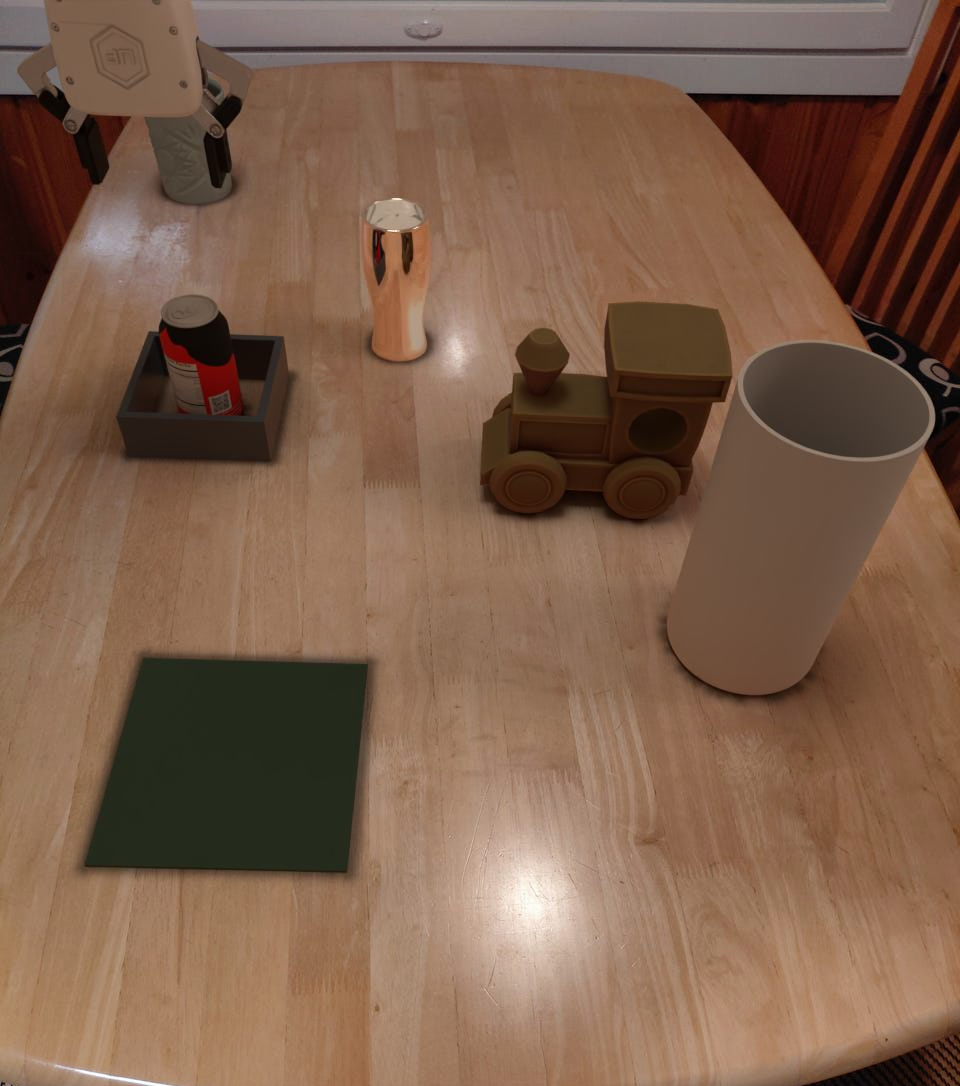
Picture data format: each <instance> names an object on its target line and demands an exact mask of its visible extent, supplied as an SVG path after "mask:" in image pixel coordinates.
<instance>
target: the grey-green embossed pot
mask: <svg viewBox="0 0 960 1086" xmlns="http://www.w3.org/2000/svg"><path fill="white" fill-rule="evenodd" d="M207 90H208V91H209V92H210V93H211V94H212V95H213V96H214V97H215V98H216V99H217V100H218V101H219V102H220V103H221V102H222V101H223V100H224V99H225V89H224V87H223V85H222V84H221V82H218V81H217V80H215V79H213V78H210V77H208V87H207ZM143 119H144V122H145V124H146V127H147V128H148V136H149V139H150V143H151V146H152V148H153V154H154V157H155V159H156V164H157V168H158V171H159V173H160V178H161V183H162V186H163V189H164V192H165V194H166V195H167V197H168V198H170V199H171V200H173V201H175V202H177V203H180V204H186V205H206V204H211V203H215V202H217V201H221V200H222V199H224V198H226V197H227V196H228V195H229V194H230V193H231V191H232V188H233V180H232V172H231V173H227V174H226V177H225V180H224V182H223V185H222V188H214V186H212V185H211V180H210V174H209V169H208V164H207V159H206V153H205V148H204V143H203V139H204V136H205V134H206V130H205V129H204V128H203V127H202V126H201V125H200V124H199V123H198V122H197V121H196V120H195V119H194V118H193V117H192V116H191V115H189V116H185V117H143ZM226 131H227V129H226Z"/></svg>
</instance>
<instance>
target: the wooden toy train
mask: <svg viewBox="0 0 960 1086" xmlns="http://www.w3.org/2000/svg"><path fill="white" fill-rule="evenodd" d="M603 331H604V333H603V347H604V348H603V350H604V351H603V352H604V360H605V362H604V363H605V372H606V376H604V375H603V376H602V375H595V374H594V375H593V374H587V373H570V372H569V373H568V372H563V371H564V369H565V368H566V367H567V365H568V364H569V361H570V356H571V353H570V352H569V351H568V349H567V347H566V345H565V344H564V343H563V341H562V340H561V337H559V335H558V333H557V332H556V331H555V330H553V329H551V328H548V327H538V328H534V329H533V330H532V331H530V332H529V333H528V334H527V335H526V336H525V337H524V338H523V339H522V341H521V342H520V343H519V344H518V345H517V346H516V349H515V352H514V356H515V359H516V362H517V363H518V366H519V368H520V370H521V372H512V373H513V375H512V385H511V392H510V393H508V394H507V395H505V396H504V397H503V398H501V399H500V401H498V403H497V404H496V406H495V407H494V409H493V412H492V416H491V417H490V418H489V419H487V420H486V421H484V422H483V423H482V432H481V433H482V434H481V453H480V455H481V456H480V458H481V459H480V479H479V485H480V486H485V487H490V488H489V489H490V492H491V493H492V495H493V496H494V498H495V500H496V501H497V502H498V503H499V504H500V505H501V506H503V507H504V508H505V509H508V510H510V511H512V512H516V513H521V514H536V513H540V512H544V511H546V510H548V509H551V508H552V507H553V506H555V505H557V503H558V502H559V501H560V500H561V499H562V497H563V496H564V494H565V492H566V491H584V492H602V495H603V498H604V501H605V502H606V505H608V507H609V508H610V509H611V510H612V511H614V512H615V513H616V514H618V515H620V516H622V517H624V518H628V519H634V520H641V519H642V520H644V519H650V518H653V517H656V516H659V515H661V514H662V513H665V512H666V511H668V510H669V509H670V508H671V507H672V506H673V504H675V502H676V501H677V498H678V497H679V496H681V497H683V496H684V497H686V496H687V494H688V491H689V487H690V484H691V480H692V477H693V473H694V465H693V458H694V456H695V454H696V452H697V451H698V449H699V446H700V444H701V441H702V438H703V435H704V433H705V430H706V426H707V424H708V422H709V421H708V420H709V417H710V414H711V411H712V408H713V404H714V403H715V404H717V403H726V400H727V396H728V393H729V390H730V386H731V383H732V379H733V377H734V376H733V363H732V362H733V361H732V352H731V347H730V342H729V338H728V334H727V329H726V325H725V323H724V321H723V318H722V315H721V313H720V310H719V309H718V308H714V307H707V306H703V305H695V304H689V303H677V302H676V303H675V302H655V301H638V300H637V301H626V302H609V303H608V304H607V311H606V318H605V324H604V330H603Z"/></svg>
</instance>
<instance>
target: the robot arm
mask: <svg viewBox="0 0 960 1086" xmlns="http://www.w3.org/2000/svg"><path fill="white" fill-rule="evenodd" d="M43 4H44V5H43V6H44V10H45V16H46V22H47V27H48V32H49V37H50V42H49V43H47V44H46V45H44V46H43V47H41V48H39V49H38V50H36V51H35V52H33V53H32V54H30V55H29V56H27V57H26V58H24V59H23V60H22V61H21V62H20V64H19V65H18V67H17V70H16V71H17V74H18V76H19V77H20V78H21V79H22V82H24V83H25V85H26V86H27V87H28V89H29V90H30V91H31V93H33V95H35V96H36V97H37V98H38V103H39V104H40V106H41V107H42V108H44V109H45V111H47V112H48V113H49V114H50V115H52V116H53V117H54V118H56V119H57V120H58V121H60V122H61V123H62V126H63V128H64V130H65V131H66V132H67V133H68V134H71V135H72V138H73V141H74V145H75V149H76V151H77V155H78V158H79V162H80V166H81V168H82V169H83V170H87V173H88V176H89V177H88V178H89V180H90V183H91V185H95V186H100V185H101V184H103V182H104V180H105V178H106V176H107V174H108V172H109V170H110V163H109V159H108V158H109V157H108V155H107V151H106V147H105V144H104V139H103V137H102V133H101V129H100V126H99V122H98V120H96V117H95V116H113V117H138V118H139V117H141V118H144V117H185V116H189V115H191V116H192V117H193V118H194V119H195V120H196V121H197V122H198V123H199V124H200V125H201V126H202V127H203V128H204V129H205V130H206V134H205V136H204V139H203V143H204V148H205V153H206V159H207V164H208V169H209V174H210V180H211V185H212V186H214V188H222V185H223V182H224V180H225V177H226V174H227V173H231V174H232V170H233V163H232V154H231V149H230V143H229V137H228V132H227V131H226V130H227V129H228V128H229V127H230V126H231V124H232V123H233V122H234V121H235V119H236V118H237V117H238V116H239V115H240V113H241V111H242V109H243V106H244V103H245V100H246V97H247V94H248V91H249V89H250V85H251V82H252V79H253V77H254V76H253V75H254V73H253V69H252V68H251V67H250V66H248V65H246V64H245V63H243V62H242V61H239V60H237V59H235V58H234V57H232V56H230V55H228V54H226V53H224V52H223V51H221V50H219V49H218V48H215V47H213V46H211V45H210V44H208V43H206V42H204V41H202V38H201V35H200V34H201V33H200V30H199V25H198V22H197V18H196V15H195V11H194V8H193V5H192V1H191V0H43ZM54 68H56V69H57V70H56V71H57V73H58V78H59V82H60V85H61V89H60V88H59V87H58V86H56V85H55V84H53V83H52V82H51V79H50V78H49V76H48V75H47V73H48V72H50V71H51V70H52V69H54ZM209 72H210V73H212V74H214V75H215V76H218V77H220V78H221V79H223V80H225V81H226V82H227V83H228V84H229V91H228V94H227V95H226V96H224V100H223V101H222V102H221V103H220V102H219V101H218V100H217V99H216V98H215V97H214V96H213V95H212V94H211V93H210V92H209V91H208V90H207V87H208V78H209ZM91 115H95V116H91Z"/></svg>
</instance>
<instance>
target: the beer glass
mask: <svg viewBox="0 0 960 1086" xmlns="http://www.w3.org/2000/svg"><path fill="white" fill-rule="evenodd" d="M429 215H430V214H429V210H428V209H427V207H425V205H423V204H422V203H420V202H418V201H416V200H413V199H411V198H405V197H383V198H379V199H376V200H373V201H371V202H369V203H368V204H366V205H365V206H364V207H363V208H362V210H361V234H360V235H361V236H360V237H361V240H360V244H361V245H360V246H361V260H362V261H361V262H362V270H363V275H364V281H365V285H366V288H367V292H368V296H369V301H370V305H371V308H372V313H373V331H372V337H371V349H372V351H373V353H374V354H376V355H377V356H378V357H379V358H380V359H381V358H382V359H384V360H386V361H390V362H409V361H412V360H416V359H417V358H419V357H421V356H423V354H425V352H426V351H427V348H428V340H427V336H426V331H425V325H424V310H425V303H426V298H427V293H428V287H429V282H430V275H431V267H432V265H431V264H432V247H431V246H432V245H431V233H430V232H431V230H430V220H429Z"/></svg>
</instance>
